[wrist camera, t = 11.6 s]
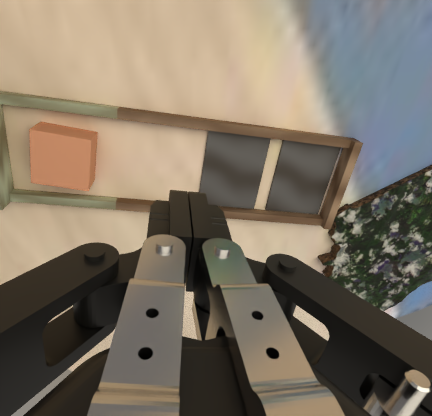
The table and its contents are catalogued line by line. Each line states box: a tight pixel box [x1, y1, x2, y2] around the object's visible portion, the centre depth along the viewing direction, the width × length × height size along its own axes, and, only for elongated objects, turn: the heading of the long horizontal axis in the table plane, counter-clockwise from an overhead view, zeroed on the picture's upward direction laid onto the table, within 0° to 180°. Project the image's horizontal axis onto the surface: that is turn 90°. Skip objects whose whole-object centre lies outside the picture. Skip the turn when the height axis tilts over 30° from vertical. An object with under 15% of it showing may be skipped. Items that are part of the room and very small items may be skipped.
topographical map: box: [318, 165, 432, 311], centre depth 57 cm, size 26×33×3 cm
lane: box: [0, 91, 363, 229], centre depth 45 cm, size 14×49×4 cm, turn 81°
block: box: [29, 122, 98, 191], centre depth 42 cm, size 7×7×4 cm
